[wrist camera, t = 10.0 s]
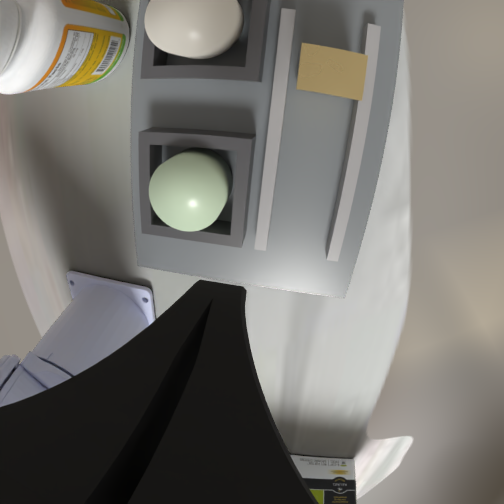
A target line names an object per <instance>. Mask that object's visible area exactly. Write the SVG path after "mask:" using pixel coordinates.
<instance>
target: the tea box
mask: <svg viewBox="0 0 504 504" xmlns="http://www.w3.org/2000/svg"><path fill="white" fill-rule="evenodd" d="M290 456H291V458H292V460H293V462H294V464H295V465H296V467H297V469H298V471H299V472H300V474H301V476H302V478H303V479H304V481H305V483H306V484H307V486H308V488H309V489H310V491H311V492H312V494H313V496H314V497H315V499H316V500H317V502H318V503H319V504H356V480H355V463H354V459H340V458H322V457H309V456H298V455H290Z"/></svg>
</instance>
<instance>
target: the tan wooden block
mask: <svg viewBox="0 0 504 504" xmlns="http://www.w3.org/2000/svg"><path fill="white" fill-rule="evenodd" d="M367 61H368V55H364V54H360V53H355V52H351V51H346V50H341V49H336V48H331V47H326V46H320V45H314V44H307V43H302V45H301V51H300V59H299V67H298V76H297V84H296V90H302V91H309V92H315V93H321V94H326V95H332V96H337V97H342V98H347V99H353V100H359V101H362V98H363V91H364V84H365V77H366V69H367Z"/></svg>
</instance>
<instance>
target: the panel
mask: <svg viewBox="0 0 504 504" xmlns="http://www.w3.org/2000/svg"><path fill="white" fill-rule="evenodd" d="M237 1H238V3H239V4H240V6H241V8H242V10H243V14H244V27H243V30H242V33H241V35H240V37H239V39H238V40H237V42H236V43H235V44H234V45H233V46H232V47H231V48H230V49H228V50H227V51H226V52H224V53H222V54H220V55H218V56H216V57H212V58H208V59H192V58H187V57H183V56H179V55H175V54H171V53H168V52H165V51H163V50H161V49H159V48H158V47H157V46H156V45H154V44H153V43H152V41H151V40H150V39H149V37H148V35H147V33H146V29H145V23H144V20H145V12H146V9H147V6H148V4H149V2H150V0H140V5H139V12H138V20H137V28H136V38H135V48H134V61H133V75H132V95H131V182H132V202H133V218H134V231H135V243H136V253H137V263H138V266H141V267H146V268H152V269H157V270H163V271H169V272H174V273H180V274H186V275H192V276H198V277H204V278H210V279H216V280H222V281H228V282H235V283H241V284H248V285H254V286H261V287H267V288H274V289H281V290H288V291H295V292H302V293H309V294H316V295H323V296H331V297H338V298H345V296H346V293H347V290H348V286H349V283H350V280H351V277H352V274H353V270H354V267H355V264H356V260H357V257H358V254H359V250H360V247H361V243H362V240H363V236H364V232H365V229H366V225H367V221H368V217H369V213H370V210H371V206H372V202H373V197H374V193H375V189H376V185H377V181H378V176H379V172H380V167H381V162H382V158H383V153H384V148H385V143H386V138H387V132H388V127H389V121H390V116H391V110H392V104H393V97H394V90H395V84H396V76H397V68H398V60H399V51H400V42H401V31H402V18H403V1H404V0H237ZM302 43H307V44H314V45H320V46H326V47H331V48H336V49H341V50H346V51H351V52H355V53H360V54H364V55H368V61H367V69H366V77H365V84H364V91H363V98H362V101H359V100H353V99H347V98H342V97H337V96H332V95H326V94H321V93H315V92H309V91H302V90H296V84H297V76H298V67H299V59H300V51H301V45H302ZM195 147H198V148H205V149H209V150H211V151H213V152H215V153H217V154H218V155H219V156H221V157H222V158H223V159H224V160H225V162H226V163H227V165H228V166H229V168H230V171H231V174H232V179H233V187H232V192H231V195H230V197H229V199H228V200H227V202H226V204H225V206H224V207H223V209H222V211H221V213H220V214H219V216H218V218H217V219H216V220H215V221H214V222H213V223H212V224H211V225H209V226H208V227H206V228H204V229H202V230H198V231H190V232H189V231H181V230H178V229H175V228H173V227H171V226H169V225H167V224H166V223H165V222H163V221H162V220H161V219H160V218H159V217H158V215H157V214H156V213H155V211H154V209H153V207H152V205H151V202H150V198H149V184H150V180H151V177H152V175H153V173H154V172H155V170H156V169H157V168H158V167H159V166H160V165H161V164H162V163H164V162H165V161H167V160H169V159H170V158H172V157H173V156H175V155H177V154H178V153H180V152H182V151H183V150H186V149H189V148H195Z"/></svg>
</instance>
